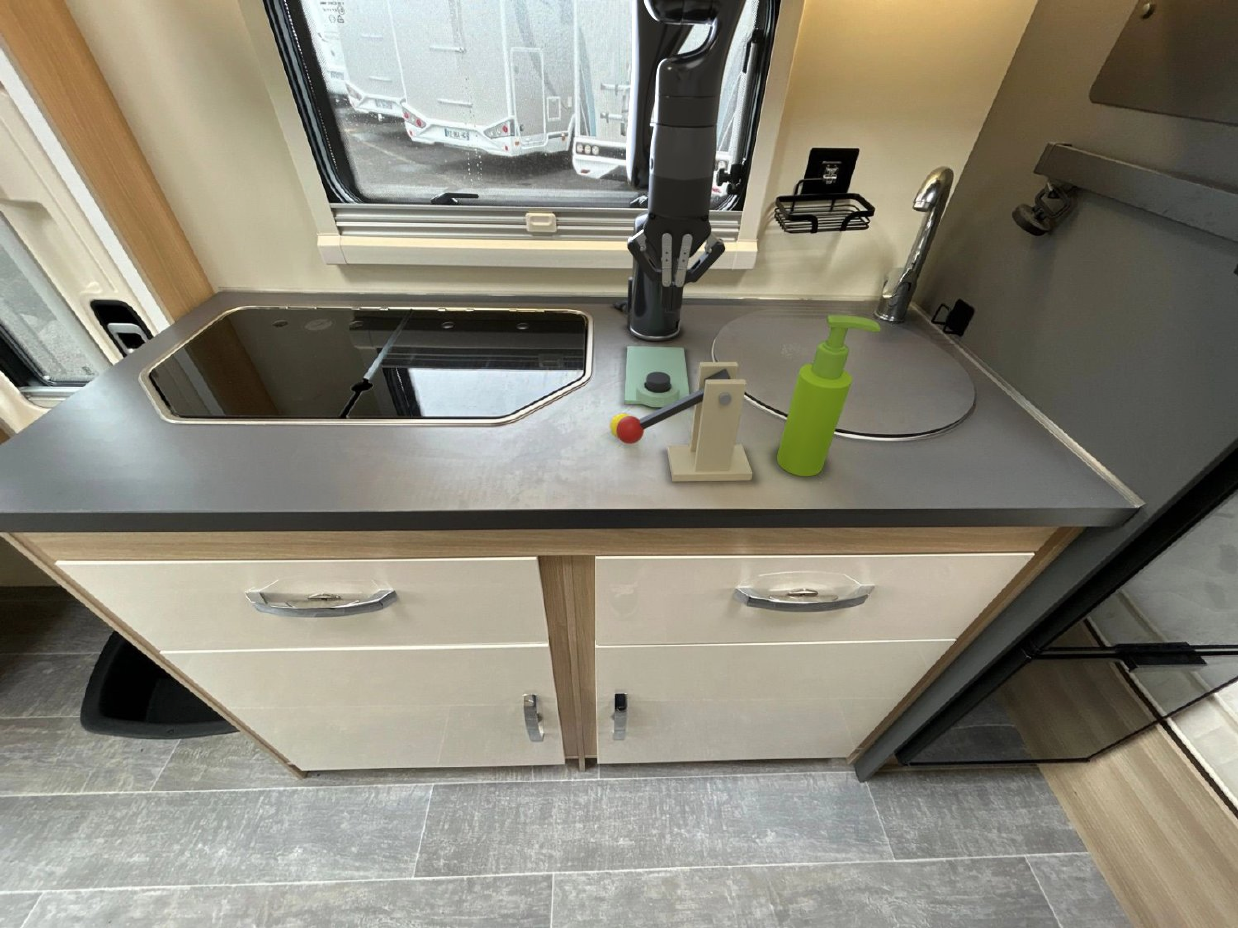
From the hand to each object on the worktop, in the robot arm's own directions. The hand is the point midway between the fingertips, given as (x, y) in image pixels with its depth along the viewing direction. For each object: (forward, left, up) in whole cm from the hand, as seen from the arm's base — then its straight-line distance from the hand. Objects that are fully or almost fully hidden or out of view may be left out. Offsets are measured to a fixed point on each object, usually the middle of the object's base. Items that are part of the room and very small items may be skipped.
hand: (670, 310), depth 72 cm
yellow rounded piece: (+2, -11, -14) cm, 18 cm away
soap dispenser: (+23, +2, -14) cm, 28 cm away
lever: (+12, -11, -7) cm, 18 cm away
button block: (-6, +4, -14) cm, 16 cm away
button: (0, -1, -12) cm, 12 cm away
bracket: (+15, -8, -14) cm, 22 cm away
